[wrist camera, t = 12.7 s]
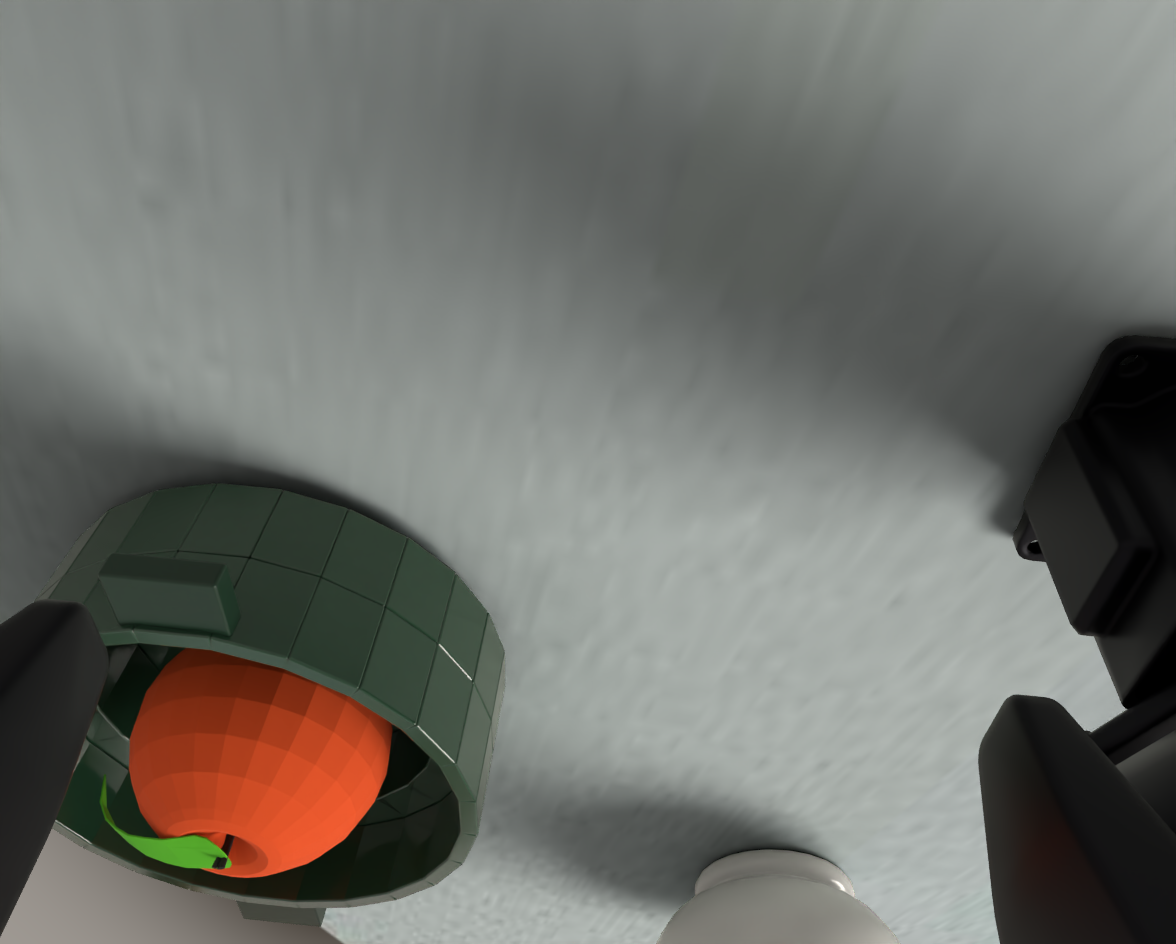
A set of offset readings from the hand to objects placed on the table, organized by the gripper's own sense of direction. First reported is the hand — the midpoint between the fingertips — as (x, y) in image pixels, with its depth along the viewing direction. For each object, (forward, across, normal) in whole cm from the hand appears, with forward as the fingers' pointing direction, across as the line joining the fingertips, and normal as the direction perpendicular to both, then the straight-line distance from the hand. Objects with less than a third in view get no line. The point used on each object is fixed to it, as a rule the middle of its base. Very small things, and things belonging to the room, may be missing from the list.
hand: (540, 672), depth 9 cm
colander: (+12, +9, +16) cm, 22 cm away
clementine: (+12, +9, +16) cm, 22 cm away
